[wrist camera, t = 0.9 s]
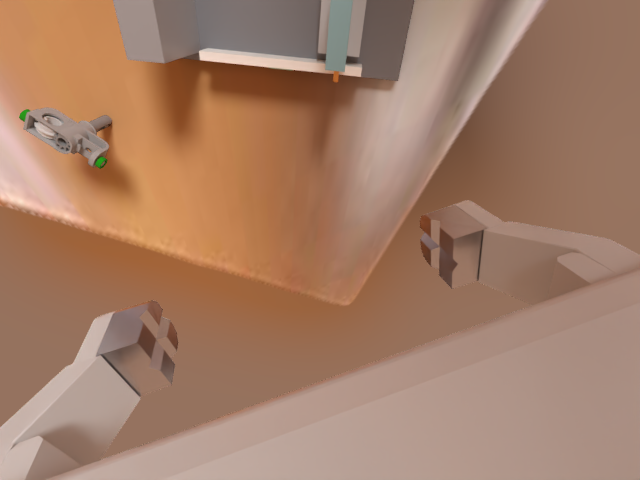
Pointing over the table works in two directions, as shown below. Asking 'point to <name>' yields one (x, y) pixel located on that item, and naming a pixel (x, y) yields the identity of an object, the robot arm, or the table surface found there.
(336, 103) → the table surface
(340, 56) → the block
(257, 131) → the table surface
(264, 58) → the bench
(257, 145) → the table surface
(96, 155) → the mechanical component
